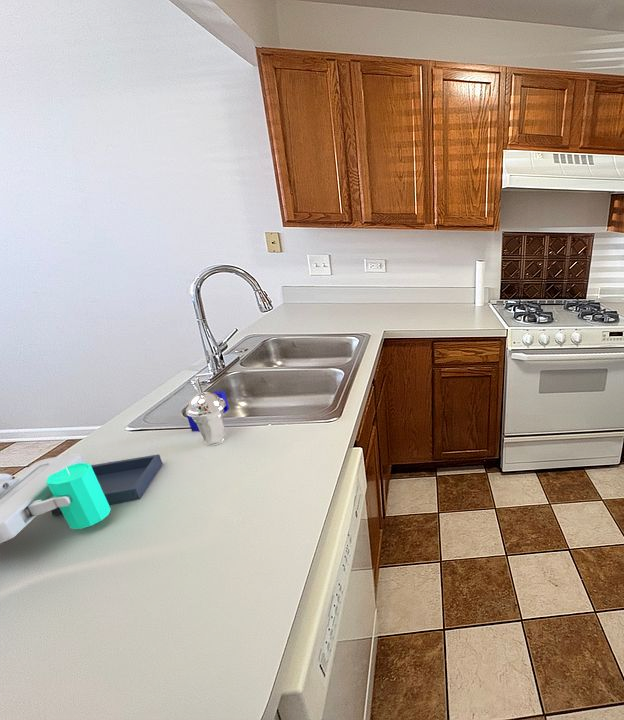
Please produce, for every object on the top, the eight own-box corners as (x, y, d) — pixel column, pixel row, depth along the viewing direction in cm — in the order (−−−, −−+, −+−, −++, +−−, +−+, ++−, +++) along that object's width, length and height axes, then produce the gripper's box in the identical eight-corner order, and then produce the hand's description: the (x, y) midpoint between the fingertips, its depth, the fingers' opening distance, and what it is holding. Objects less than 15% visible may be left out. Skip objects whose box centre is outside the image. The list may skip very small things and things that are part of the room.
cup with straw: (225, 428, 109) (206, 361, 101) (242, 439, 104) (223, 369, 96) (191, 443, 102) (167, 372, 95) (206, 455, 97) (183, 382, 90)
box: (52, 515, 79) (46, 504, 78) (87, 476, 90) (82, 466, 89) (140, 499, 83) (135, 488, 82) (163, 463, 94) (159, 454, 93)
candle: (109, 501, 80) (87, 452, 75) (112, 517, 76) (88, 466, 71) (68, 516, 76) (42, 465, 71) (68, 534, 72) (41, 481, 68)
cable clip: (214, 409, 119) (209, 391, 116) (229, 409, 119) (224, 391, 116) (186, 431, 108) (180, 411, 105) (202, 431, 107) (196, 412, 105)
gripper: (40, 477, 81) (119, 467, 84) (-58, 559, 63) (48, 542, 66) (27, 451, 78) (109, 442, 82) (-79, 529, 60) (32, 513, 63)
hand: (81, 487), depth 74 cm, fingers closed on candle, 5 cm apart
